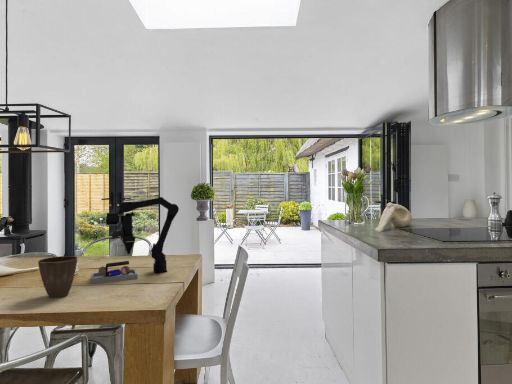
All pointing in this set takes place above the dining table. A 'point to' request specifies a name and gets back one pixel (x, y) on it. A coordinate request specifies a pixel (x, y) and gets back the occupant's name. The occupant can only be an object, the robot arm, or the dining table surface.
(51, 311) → the dining table surface
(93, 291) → the dining table surface
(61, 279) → the plant pot
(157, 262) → the robot arm
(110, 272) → the figurine character
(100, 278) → the cradle
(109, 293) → the dining table surface
